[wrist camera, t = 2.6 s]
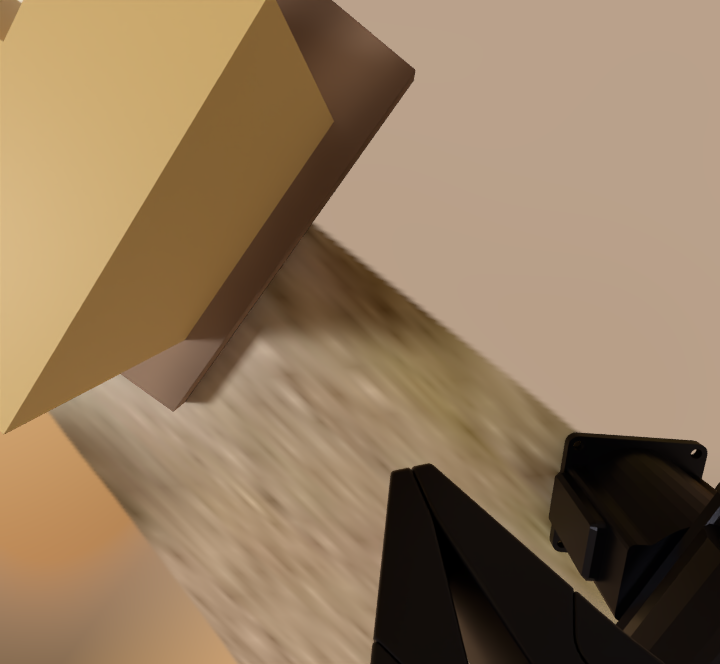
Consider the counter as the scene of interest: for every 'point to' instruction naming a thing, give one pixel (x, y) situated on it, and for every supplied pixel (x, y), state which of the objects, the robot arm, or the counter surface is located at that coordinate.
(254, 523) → the counter surface
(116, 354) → the t block
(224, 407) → the counter surface
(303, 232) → the walnut board
